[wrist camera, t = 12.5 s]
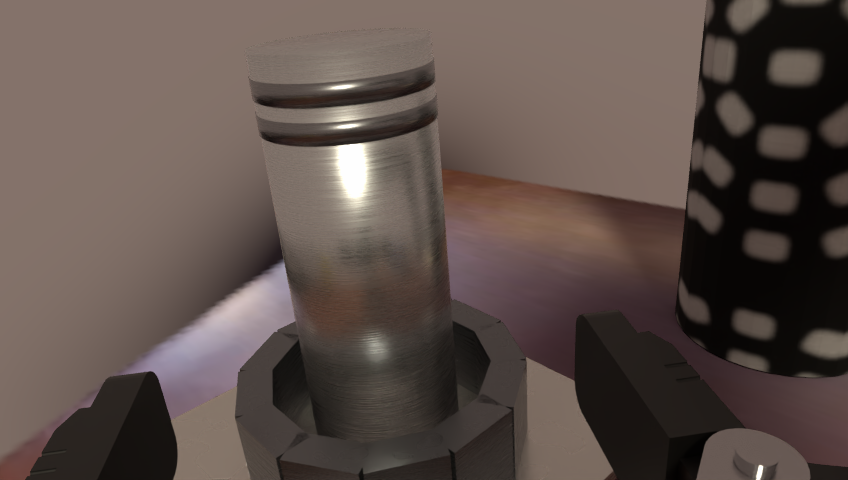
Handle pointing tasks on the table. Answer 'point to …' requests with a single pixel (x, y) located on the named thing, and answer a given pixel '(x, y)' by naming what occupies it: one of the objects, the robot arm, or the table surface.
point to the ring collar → (404, 455)
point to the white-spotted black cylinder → (770, 188)
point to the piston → (361, 224)
